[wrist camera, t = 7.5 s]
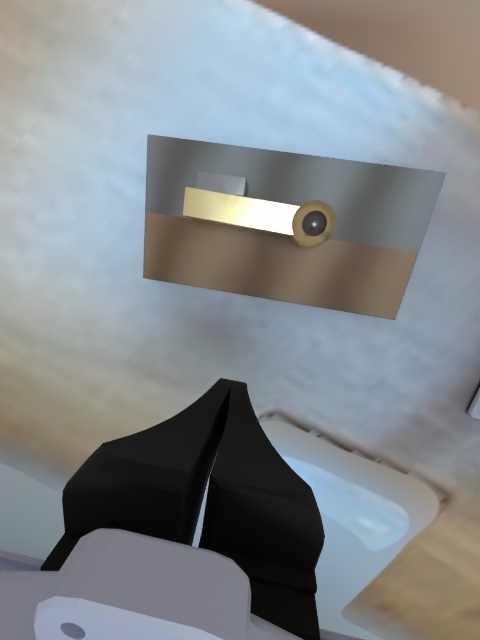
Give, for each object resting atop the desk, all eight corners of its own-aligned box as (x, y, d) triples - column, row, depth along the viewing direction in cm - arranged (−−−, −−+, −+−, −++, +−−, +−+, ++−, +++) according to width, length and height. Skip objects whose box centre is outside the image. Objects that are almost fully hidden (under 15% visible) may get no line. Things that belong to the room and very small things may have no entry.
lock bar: (330, 211, 17) (343, 203, 14) (320, 250, 18) (330, 250, 15) (198, 188, 17) (184, 176, 14) (194, 227, 18) (180, 222, 15)
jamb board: (434, 177, 17) (446, 172, 16) (387, 315, 20) (395, 320, 19) (155, 141, 18) (147, 134, 17) (150, 276, 21) (143, 277, 20)
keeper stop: (248, 187, 17) (245, 177, 15) (246, 202, 18) (243, 195, 15) (207, 181, 17) (197, 171, 15) (205, 197, 18) (196, 189, 15)
